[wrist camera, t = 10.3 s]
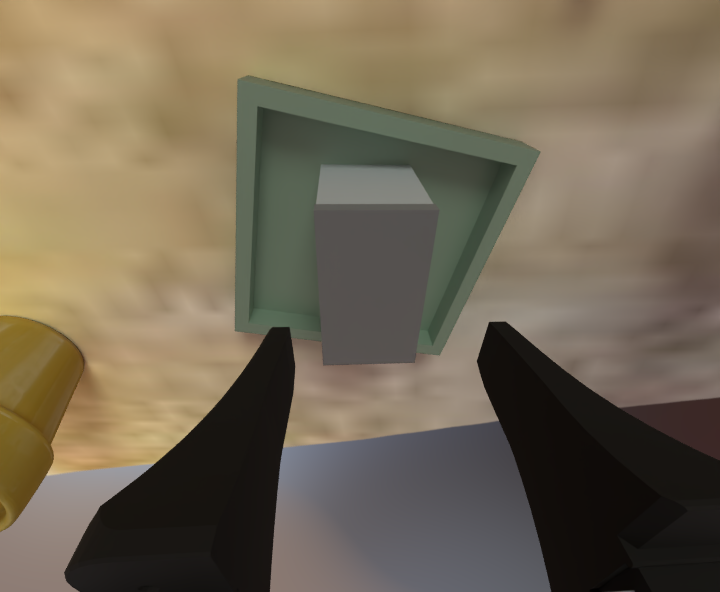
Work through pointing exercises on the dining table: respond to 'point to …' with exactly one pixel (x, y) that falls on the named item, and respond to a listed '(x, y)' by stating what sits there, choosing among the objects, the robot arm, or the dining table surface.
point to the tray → (358, 147)
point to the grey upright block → (372, 261)
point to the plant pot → (31, 406)
